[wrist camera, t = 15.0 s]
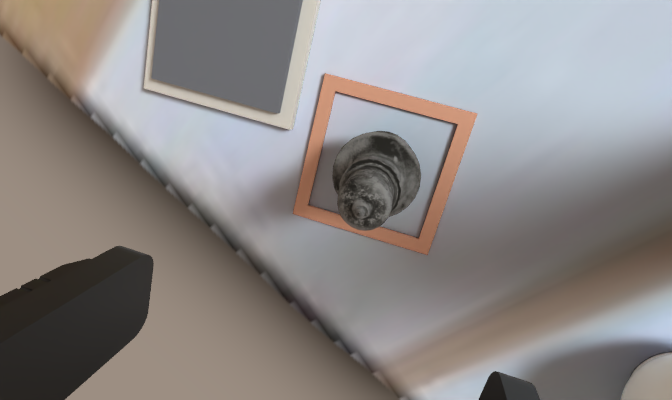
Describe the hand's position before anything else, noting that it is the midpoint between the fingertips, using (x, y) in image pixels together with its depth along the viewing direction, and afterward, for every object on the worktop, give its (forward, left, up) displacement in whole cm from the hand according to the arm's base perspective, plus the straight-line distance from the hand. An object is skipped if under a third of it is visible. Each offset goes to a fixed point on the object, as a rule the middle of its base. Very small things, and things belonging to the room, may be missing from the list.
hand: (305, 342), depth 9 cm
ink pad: (+13, -7, -22) cm, 27 cm away
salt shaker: (0, 0, -22) cm, 22 cm away
